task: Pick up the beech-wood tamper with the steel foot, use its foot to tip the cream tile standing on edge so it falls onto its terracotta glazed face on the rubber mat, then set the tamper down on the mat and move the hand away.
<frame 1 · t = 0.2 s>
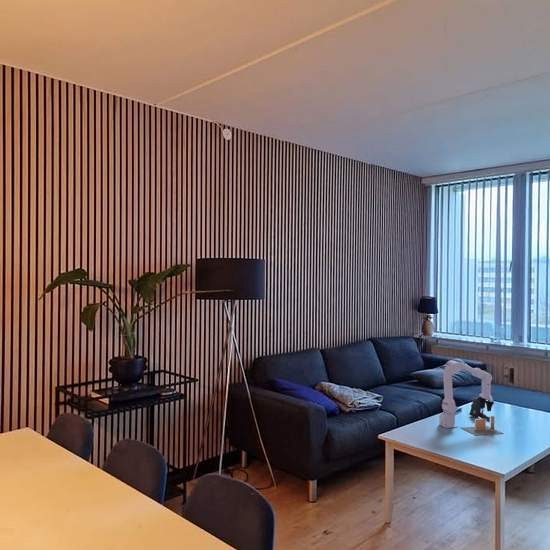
hand: (485, 409, 334), 10 cm above the table, tool pointing down, fingers open, 7 cm apart
mat: (481, 430, 319), on the table
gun: (479, 418, 348), on the table
tamper: (492, 431, 318), resting on mat
tile: (480, 429, 321), resting on mat
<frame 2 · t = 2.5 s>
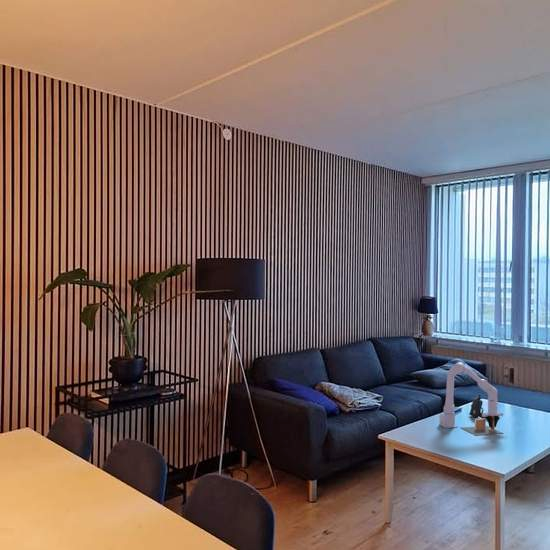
hand: (492, 427, 318), 3 cm above the table, tool pointing down, fingers closed on tamper, 2 cm apart
tamper: (492, 431, 318), resting on mat, touching gripper
everything else where it was.
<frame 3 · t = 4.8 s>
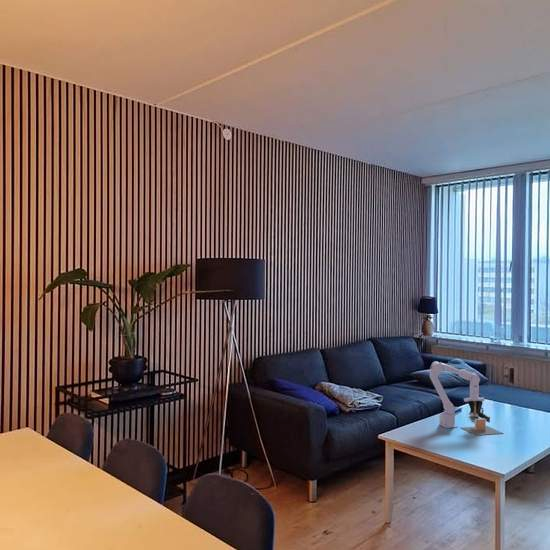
hand: (474, 411, 327), 10 cm above the table, tool pointing down, fingers closed on tamper, 2 cm apart
tamper: (474, 415, 327), point 8 cm above the table, touching gripper
everything else where it was.
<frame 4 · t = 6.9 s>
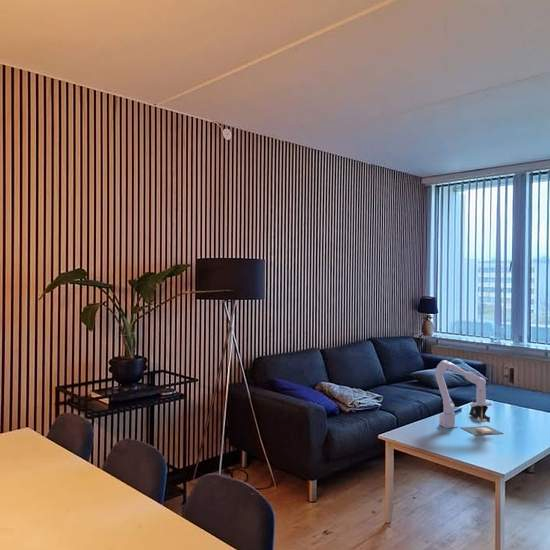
hand: (480, 417, 320), 9 cm above the table, tool pointing down, fingers closed on tamper, 2 cm apart
tamper: (481, 421, 320), point 6 cm above the table, touching gripper
tile: (480, 428, 320), point 1 cm above the table, tilted 90°, touching mat
everything else where it was.
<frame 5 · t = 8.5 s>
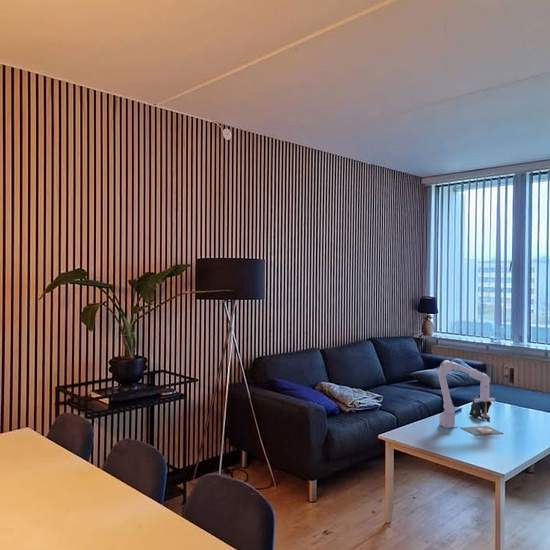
hand: (484, 412, 326), 10 cm above the table, tool pointing down, fingers closed on tamper, 2 cm apart
tamper: (484, 416, 325), point 8 cm above the table, touching gripper
everything else where it was.
when the fingers open (4 cm above the table, at t = 10.0 s): tamper stays where it is, resting on mat.
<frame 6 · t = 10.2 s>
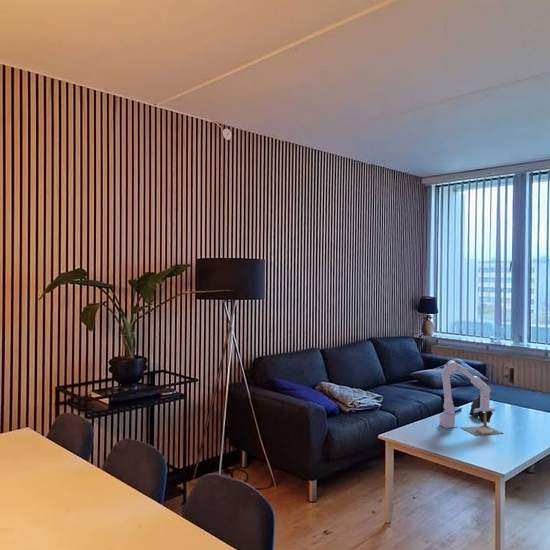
hand: (484, 422, 325), 4 cm above the table, tool pointing down, fingers open, 4 cm apart
tamper: (484, 427, 325), resting on mat
everything else where it was.
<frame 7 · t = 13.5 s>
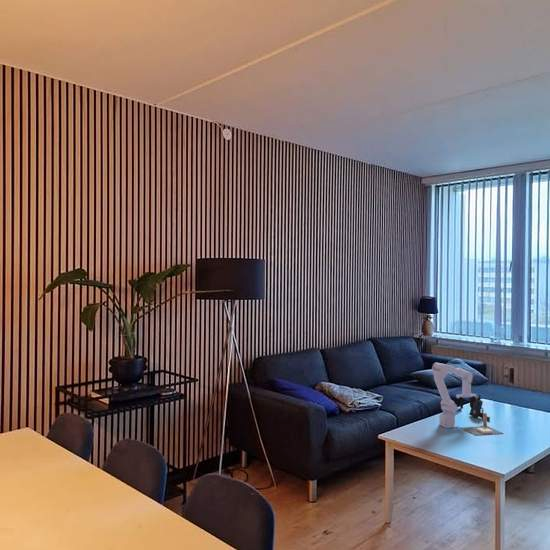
hand: (466, 407, 337), 10 cm above the table, tool pointing down, fingers open, 7 cm apart
nothing on the table moved.
at the end: tile tilted 90°; tile 1.0 cm from the target spot, point 1.1 cm above the table; tamper 0.2 cm from the target spot, resting on mat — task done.
